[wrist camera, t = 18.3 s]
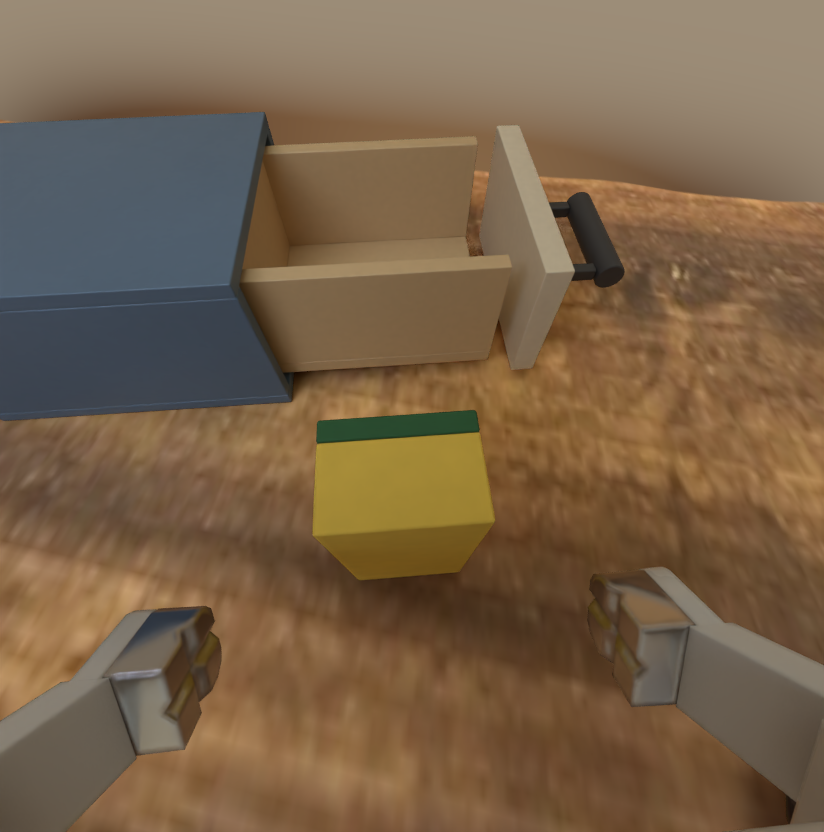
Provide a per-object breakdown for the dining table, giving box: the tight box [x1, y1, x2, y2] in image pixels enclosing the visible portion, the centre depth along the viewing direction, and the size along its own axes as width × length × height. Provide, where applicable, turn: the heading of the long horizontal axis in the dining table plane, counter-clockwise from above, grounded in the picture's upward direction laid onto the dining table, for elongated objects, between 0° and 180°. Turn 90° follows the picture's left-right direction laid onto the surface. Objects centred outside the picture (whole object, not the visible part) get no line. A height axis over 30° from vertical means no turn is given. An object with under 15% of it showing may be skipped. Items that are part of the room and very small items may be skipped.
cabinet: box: [0, 112, 294, 421], centre depth 21 cm, size 15×12×8 cm
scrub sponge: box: [312, 410, 495, 580], centre depth 14 cm, size 4×3×9 cm
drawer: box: [239, 125, 624, 373], centre depth 21 cm, size 19×11×7 cm, turn 94°
